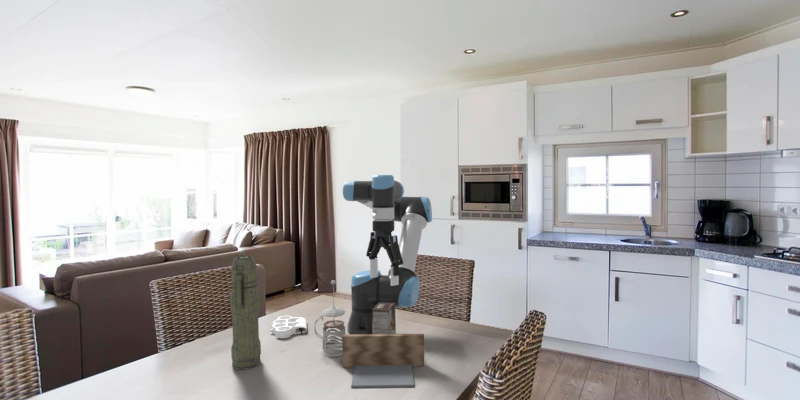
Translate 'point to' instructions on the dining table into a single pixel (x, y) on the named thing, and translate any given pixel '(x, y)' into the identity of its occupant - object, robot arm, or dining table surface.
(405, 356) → the walnut board
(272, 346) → the dining table surface
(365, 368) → the grey mat
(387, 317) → the coffee box
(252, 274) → the green canvas bag
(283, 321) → the white flat lobed piece
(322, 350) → the french press
